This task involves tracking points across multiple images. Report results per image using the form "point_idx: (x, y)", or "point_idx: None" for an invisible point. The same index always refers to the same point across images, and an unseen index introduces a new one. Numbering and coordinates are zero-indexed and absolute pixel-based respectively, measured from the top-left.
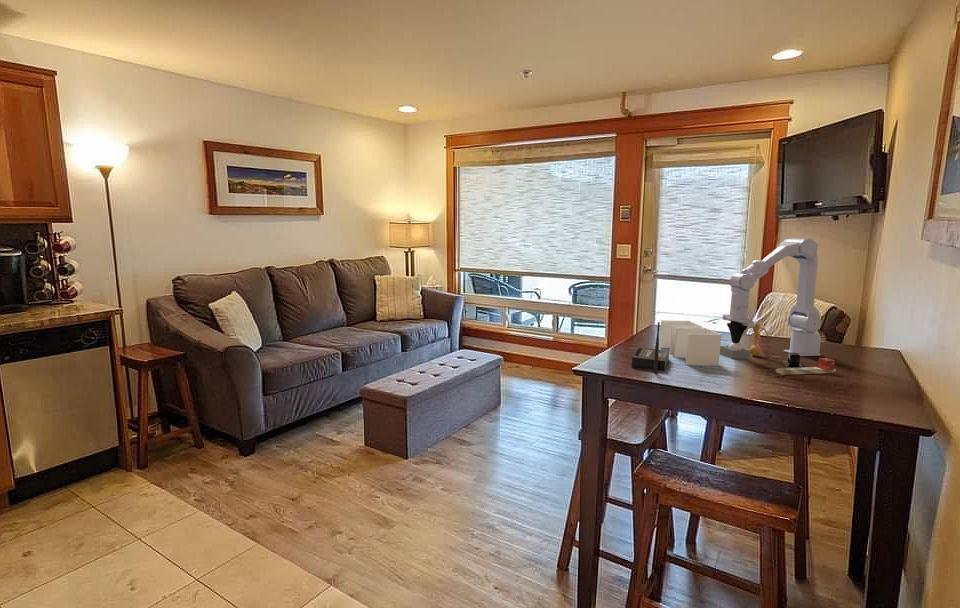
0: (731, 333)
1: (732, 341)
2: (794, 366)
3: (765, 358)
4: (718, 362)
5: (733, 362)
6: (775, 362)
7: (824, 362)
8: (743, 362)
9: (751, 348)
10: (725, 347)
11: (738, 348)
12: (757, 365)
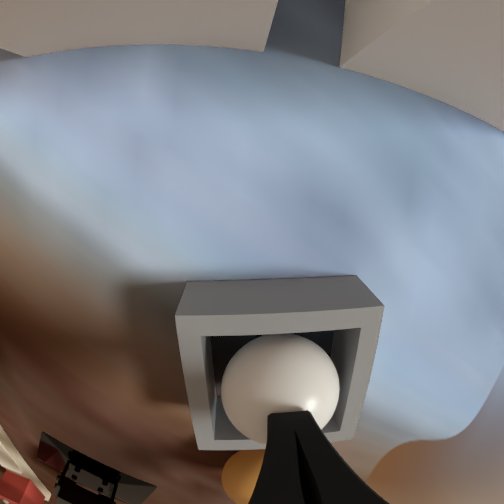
0: (333, 481)
1: (302, 416)
2: (53, 456)
3: (196, 463)
4: (15, 51)
5: (76, 216)
6: (116, 452)
7: (3, 489)
8: (81, 294)
9: (258, 473)
10: (310, 318)
11: (223, 395)
12: (29, 331)
